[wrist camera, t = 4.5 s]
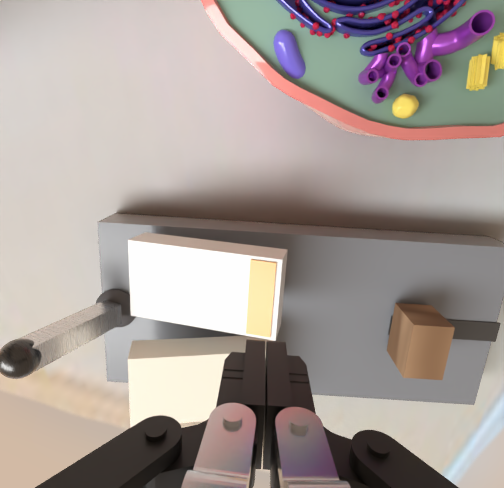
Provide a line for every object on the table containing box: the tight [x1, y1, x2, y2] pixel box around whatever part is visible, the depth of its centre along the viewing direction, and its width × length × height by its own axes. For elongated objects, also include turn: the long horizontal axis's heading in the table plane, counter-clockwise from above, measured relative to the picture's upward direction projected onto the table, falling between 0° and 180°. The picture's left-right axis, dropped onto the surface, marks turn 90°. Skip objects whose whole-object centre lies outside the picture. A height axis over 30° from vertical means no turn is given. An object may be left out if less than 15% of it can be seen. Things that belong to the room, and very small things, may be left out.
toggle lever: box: [0, 300, 122, 379], centre depth 21 cm, size 2×2×7 cm
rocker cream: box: [128, 336, 273, 428], centre depth 23 cm, size 9×5×2 cm, turn 86°
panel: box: [96, 213, 504, 405], centre depth 26 cm, size 28×12×3 cm, turn 87°
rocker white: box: [128, 232, 288, 341], centre depth 21 cm, size 9×5×2 cm, turn 87°
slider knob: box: [387, 303, 455, 380], centre depth 23 cm, size 2×4×3 cm, turn 177°
